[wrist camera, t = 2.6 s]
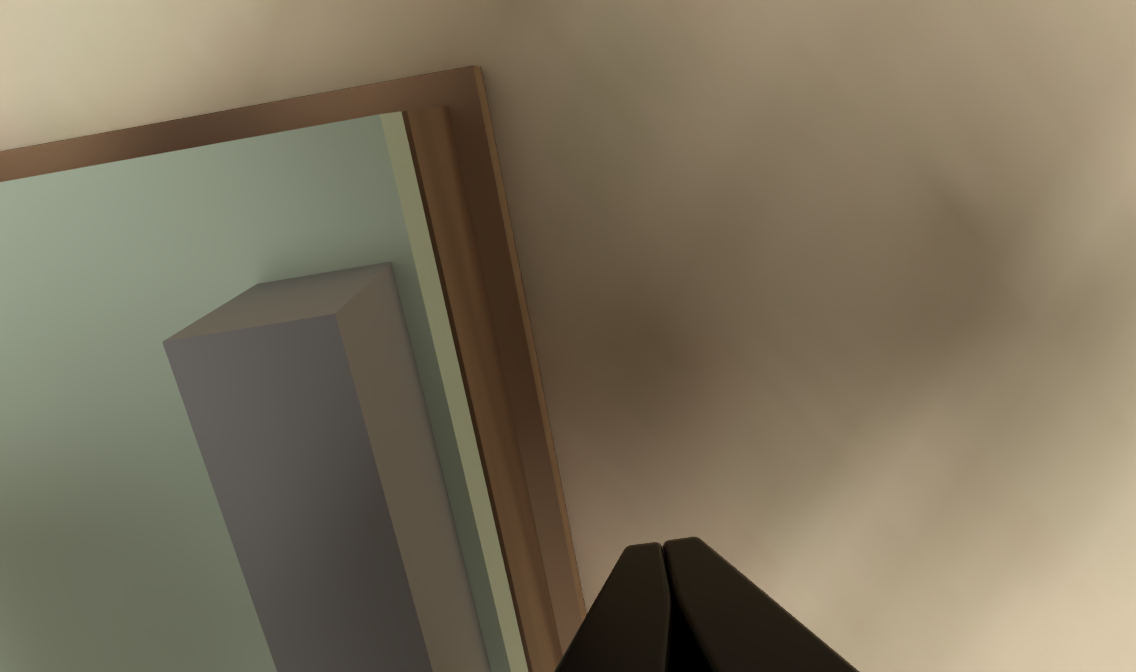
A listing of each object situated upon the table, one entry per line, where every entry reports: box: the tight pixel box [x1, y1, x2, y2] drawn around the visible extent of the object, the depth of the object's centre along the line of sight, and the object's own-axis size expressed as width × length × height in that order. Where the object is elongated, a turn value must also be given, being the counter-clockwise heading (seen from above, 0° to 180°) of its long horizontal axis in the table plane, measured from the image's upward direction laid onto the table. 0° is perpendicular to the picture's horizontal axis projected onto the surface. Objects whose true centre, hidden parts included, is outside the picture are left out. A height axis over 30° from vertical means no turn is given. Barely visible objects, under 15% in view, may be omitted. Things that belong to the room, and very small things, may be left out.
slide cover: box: [0, 111, 528, 672], centre depth 9 cm, size 11×11×3 cm
